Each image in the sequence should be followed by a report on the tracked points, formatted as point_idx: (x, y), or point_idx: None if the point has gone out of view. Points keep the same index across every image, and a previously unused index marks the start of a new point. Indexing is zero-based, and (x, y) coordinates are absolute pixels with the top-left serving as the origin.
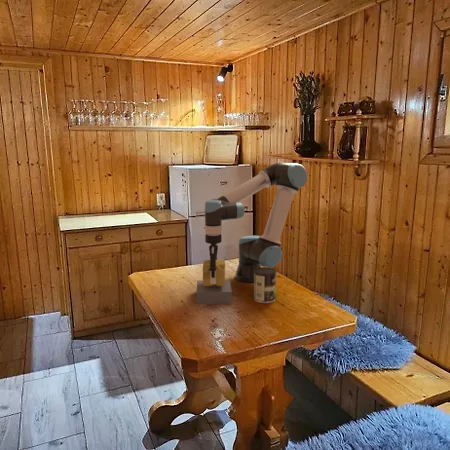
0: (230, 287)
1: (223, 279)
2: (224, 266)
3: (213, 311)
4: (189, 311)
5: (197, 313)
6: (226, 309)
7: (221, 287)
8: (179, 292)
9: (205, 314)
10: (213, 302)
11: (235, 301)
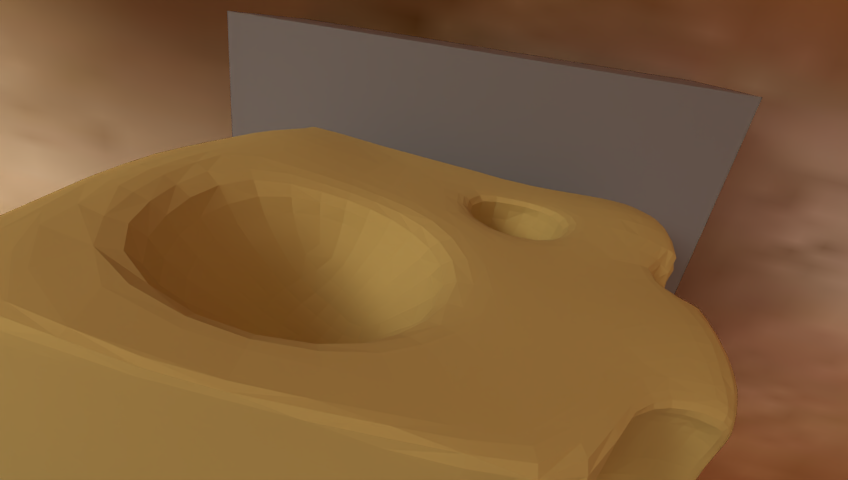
0: (559, 72)
1: (667, 276)
2: (186, 204)
3: (813, 314)
4: (703, 470)
5: (778, 435)
6: (839, 183)
7: None
8: None
9: (841, 390)
10: None
11: (653, 19)
